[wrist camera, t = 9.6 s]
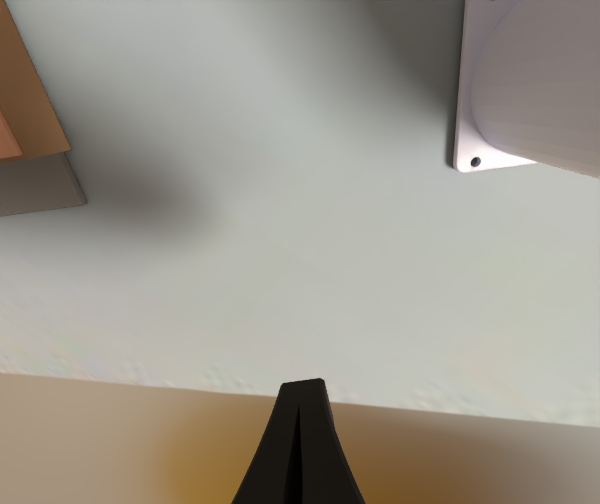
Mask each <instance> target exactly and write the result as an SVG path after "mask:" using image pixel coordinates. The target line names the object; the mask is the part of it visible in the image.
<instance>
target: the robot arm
mask: <svg viewBox="0 0 600 504" xmlns="http://www.w3.org/2000/svg"><path fill="white" fill-rule="evenodd" d="M474 157H477V162H476V164H475V165H472V166H471V164H470V162H471V160H472V159H473V158H474ZM535 163H543V164H547V165H551V166H554V167H558V168H562V169H565V170H569V171H573V172H576V173H580V174H584V175H588V176H591V177H595V178H599V179H600V0H493V1H489V0H465V11H464V24H463V38H462V51H461V64H460V78H459V91H458V104H457V118H456V131H455V144H454V158H453V167H454V168H455V170H457V171H459V172H461V173H467V172H474V171H482V170H490V169H497V168H505V167H512V166H520V165H528V164H535ZM231 504H365V502H364V500H363V497H362V495H361V493H360V491H359V489H358V486H357V484H356V482H355V479H354V477H353V475H352V472H351V470H350V468H349V465H348V463H347V460H346V458H345V456H344V453H343V450H342V447H341V445H340V442H339V439H338V436H337V434H336V431H335V427H334V421H333V415H332V411H331V407H330V403H329V398H328V394H327V390H326V386H325V382H324V380H323V379H321V378H317V379H310V380H302V381H295V382H288V383H283V384H282V385H281V387H280V390H279V393H278V397H277V400H276V403H275V405H274V408H273V411H272V414H271V417H270V419H269V422H268V424H267V427H266V429H265V432H264V434H263V436H262V439H261V442H260V444H259V446H258V449H257V451H256V453H255V455H254V458H253V460H252V462H251V464H250V466H249V468H248V470H247V473H246V475H245V477H244V479H243V481H242V483H241V485H240V487H239V489H238V492H237V493H236V495H235V497H234V499H233V501H232V503H231Z"/></svg>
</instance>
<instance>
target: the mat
mask: <svg viewBox="0 0 600 504" xmlns="http://www.w3.org/2000/svg"><path fill="white" fill-rule="evenodd" d="M86 203H87V201H86V199H85V197H84V195H83V193H82V191H81V188H80V186H79V184H78V182H77V180H76V178H75V175H74V173H73V171H72V169H71V167H70V165H69V162H68V160H67V158H66V156H65V154H64V152H59V153H54V154H49V155H45V156H40V157H35V158H30V159H24V160H18V161H11V162H5V163H0V216H7V215H15V214H22V213H29V212H36V211H44V210H51V209H58V208H66V207H73V206H80V205H84V204H86Z"/></svg>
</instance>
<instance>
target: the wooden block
mask: <svg viewBox="0 0 600 504" xmlns="http://www.w3.org/2000/svg"><path fill="white" fill-rule="evenodd" d="M69 150H71V148H70V145H69V143H68V141H67V139H66V137H65V134H64V132H63V130H62V128H61V126H60V123H59V121H58V119H57V117H56V114H55V112H54V110H53V108H52V106H51V103H50V101H49V99H48V97H47V95H46V92H45V90H44V88H43V86H42V84H41V81H40V79H39V77H38V75H37V72H36V70H35V68H34V66H33V64H32V61H31V59H30V57H29V55H28V53H27V50H26V48H25V46H24V44H23V42H22V39H21V37H20V35H19V33H18V30H17V28H16V26H15V24H14V22H13V19H12V17H11V15H10V13H9V11H8V8H7V6H6V4H5V2H4V0H0V163H5V162H11V161H18V160H24V159H30V158H35V157H40V156H45V155H49V154H54V153H59V152H64V151H69Z"/></svg>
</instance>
